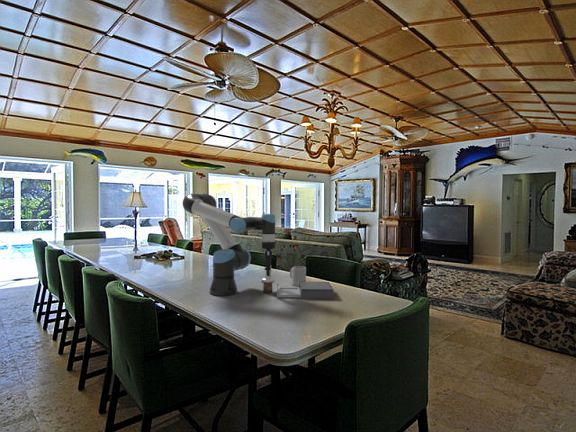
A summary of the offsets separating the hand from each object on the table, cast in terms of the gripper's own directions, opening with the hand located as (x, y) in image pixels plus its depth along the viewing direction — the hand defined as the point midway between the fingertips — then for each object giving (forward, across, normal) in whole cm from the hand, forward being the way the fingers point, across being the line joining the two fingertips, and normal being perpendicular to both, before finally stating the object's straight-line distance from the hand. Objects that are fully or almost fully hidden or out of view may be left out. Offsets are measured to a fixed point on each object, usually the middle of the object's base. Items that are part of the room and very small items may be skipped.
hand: (268, 279), depth 192 cm
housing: (+8, -4, -26) cm, 27 cm away
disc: (+1, 0, 0) cm, 1 cm away
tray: (+8, -4, -14) cm, 16 cm away
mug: (+8, +19, -17) cm, 27 cm away
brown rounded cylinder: (+7, 0, 0) cm, 7 cm away
